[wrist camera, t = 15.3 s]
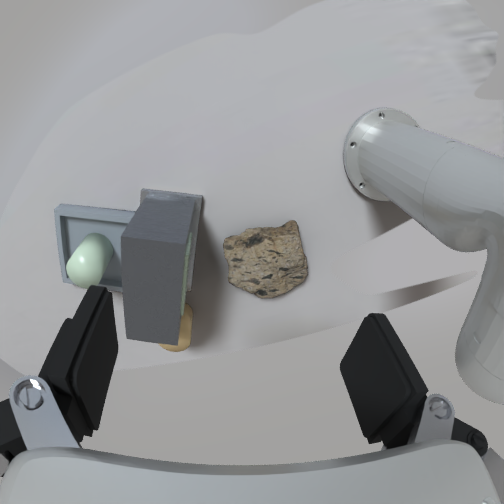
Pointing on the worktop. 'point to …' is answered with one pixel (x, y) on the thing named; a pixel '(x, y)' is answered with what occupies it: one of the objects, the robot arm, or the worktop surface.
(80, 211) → the tray
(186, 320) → the tan rounded capsule
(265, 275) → the rock
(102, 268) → the mint green rounded cylinder
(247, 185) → the worktop surface
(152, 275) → the panel
